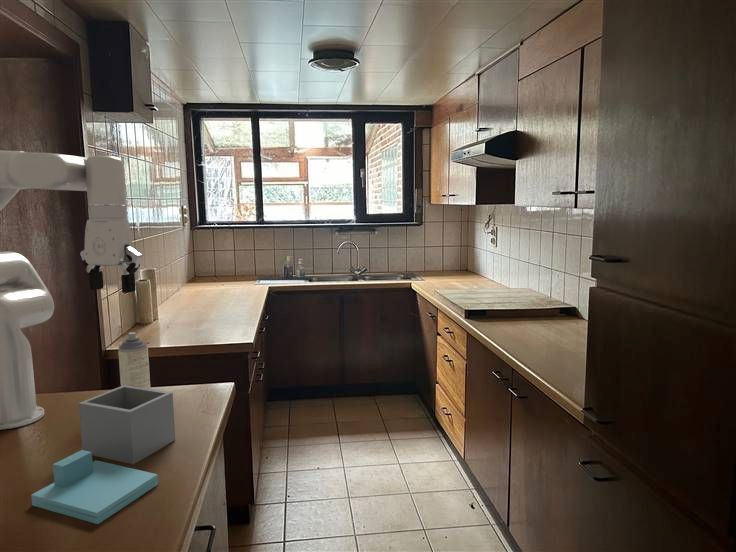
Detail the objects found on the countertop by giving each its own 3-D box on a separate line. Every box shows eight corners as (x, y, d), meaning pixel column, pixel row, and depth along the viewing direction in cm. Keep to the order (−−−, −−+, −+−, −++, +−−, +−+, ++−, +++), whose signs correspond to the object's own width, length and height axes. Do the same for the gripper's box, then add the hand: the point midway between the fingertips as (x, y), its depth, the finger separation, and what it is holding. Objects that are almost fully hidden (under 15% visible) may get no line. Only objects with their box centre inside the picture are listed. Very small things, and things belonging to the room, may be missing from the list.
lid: (32, 505, 92) (29, 472, 91) (96, 469, 104) (94, 441, 104) (97, 524, 86) (95, 489, 86) (158, 484, 99) (156, 454, 98)
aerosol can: (145, 402, 140) (141, 328, 138) (155, 409, 136) (150, 333, 133) (118, 409, 136) (113, 333, 133) (128, 416, 131) (122, 337, 128)
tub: (82, 453, 112) (78, 403, 110) (127, 430, 123) (124, 385, 121) (133, 464, 106) (129, 412, 105) (175, 440, 118) (172, 392, 116)
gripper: (64, 213, 116) (70, 290, 118) (123, 214, 109) (128, 296, 111) (93, 213, 123) (98, 286, 125) (151, 213, 116) (155, 290, 118)
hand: (112, 290), depth 118 cm, fingers open, 9 cm apart
